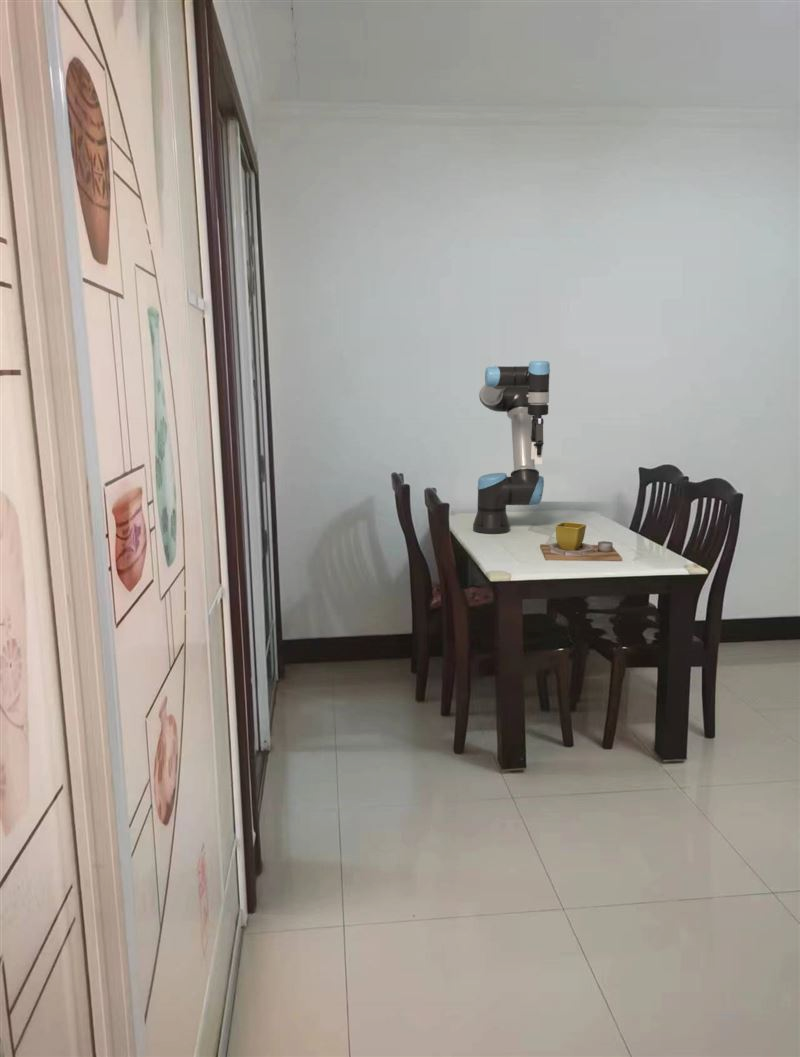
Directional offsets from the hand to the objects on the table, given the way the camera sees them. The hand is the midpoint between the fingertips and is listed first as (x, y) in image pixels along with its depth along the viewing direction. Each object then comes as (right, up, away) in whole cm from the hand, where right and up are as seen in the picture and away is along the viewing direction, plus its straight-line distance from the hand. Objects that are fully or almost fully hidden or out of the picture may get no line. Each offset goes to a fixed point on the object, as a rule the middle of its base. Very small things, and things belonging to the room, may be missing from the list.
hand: (536, 461), depth 296 cm
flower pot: (+11, -33, -8) cm, 35 cm away
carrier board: (+14, -34, -10) cm, 38 cm away
